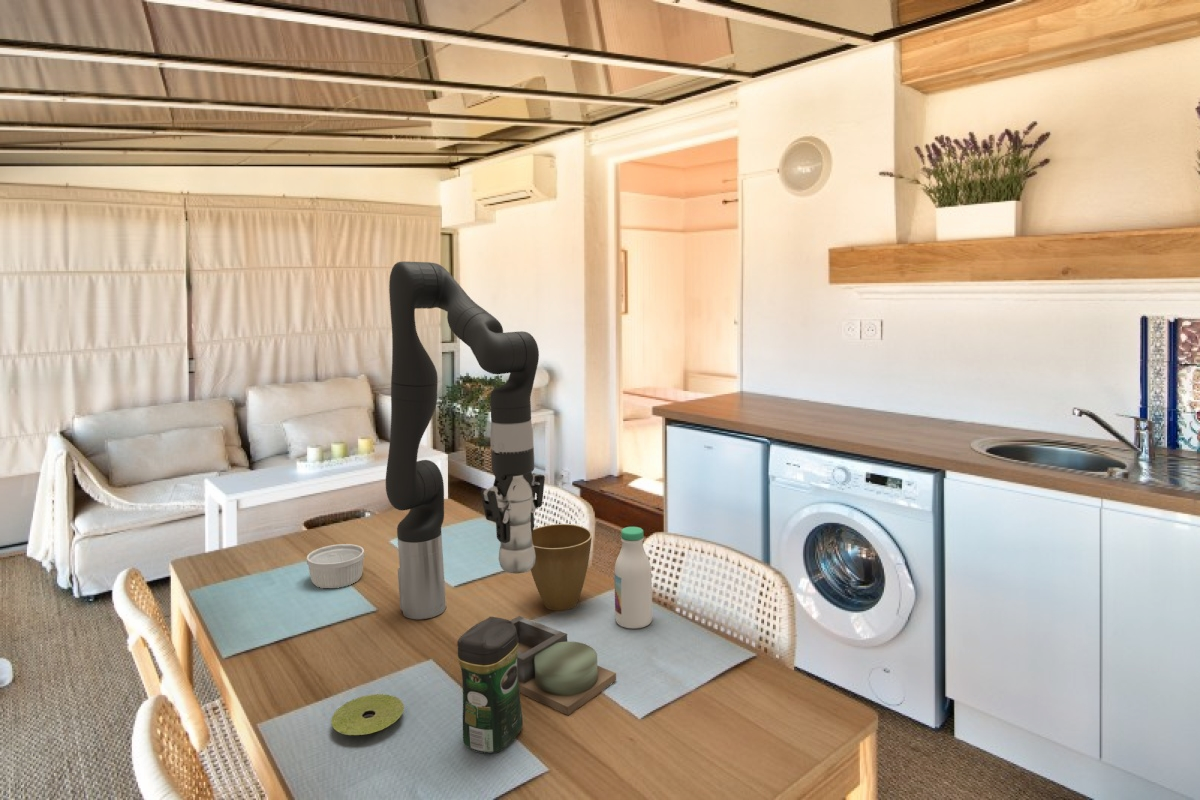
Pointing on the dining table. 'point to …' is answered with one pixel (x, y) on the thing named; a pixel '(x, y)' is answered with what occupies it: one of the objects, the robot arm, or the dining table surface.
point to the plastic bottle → (518, 528)
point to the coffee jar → (490, 685)
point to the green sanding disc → (367, 714)
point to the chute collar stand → (557, 667)
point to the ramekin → (336, 565)
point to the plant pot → (560, 563)
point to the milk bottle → (633, 581)
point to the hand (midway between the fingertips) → (515, 536)
